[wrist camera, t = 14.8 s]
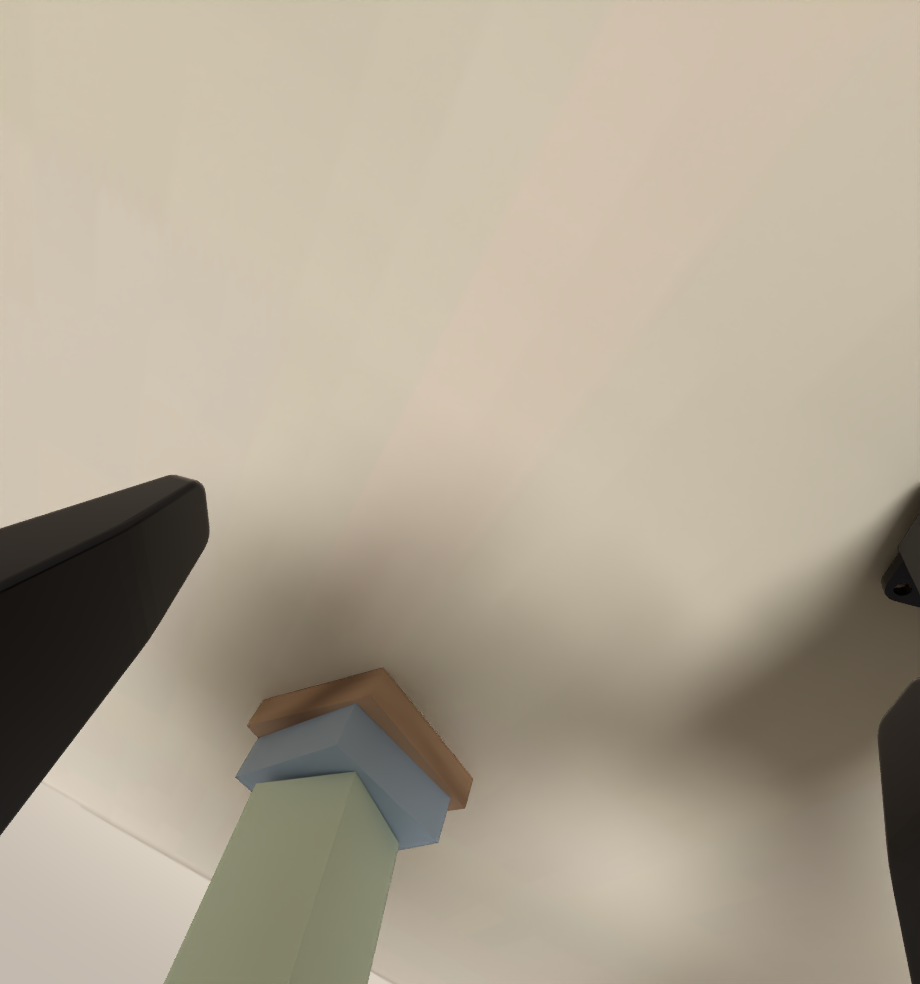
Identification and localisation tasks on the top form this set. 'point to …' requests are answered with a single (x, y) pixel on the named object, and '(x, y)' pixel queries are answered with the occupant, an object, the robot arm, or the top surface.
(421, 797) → the slate top block
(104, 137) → the top surface
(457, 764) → the walnut base block
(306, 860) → the sage block
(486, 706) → the top surface
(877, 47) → the top surface
